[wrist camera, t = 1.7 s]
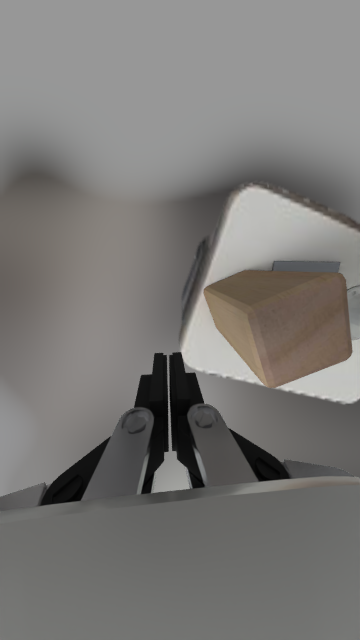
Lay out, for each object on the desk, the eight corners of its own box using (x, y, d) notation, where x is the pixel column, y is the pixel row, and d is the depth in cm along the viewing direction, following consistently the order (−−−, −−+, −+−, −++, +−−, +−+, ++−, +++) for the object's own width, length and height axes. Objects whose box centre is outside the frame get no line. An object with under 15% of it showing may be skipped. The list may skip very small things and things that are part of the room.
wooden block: (259, 312, 37) (358, 360, 18) (216, 330, 37) (268, 394, 18) (247, 268, 34) (351, 268, 15) (200, 288, 34) (243, 312, 15)
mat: (338, 262, 35) (340, 262, 34) (318, 334, 39) (320, 334, 39) (273, 261, 34) (275, 261, 33) (261, 335, 38) (262, 335, 38)
